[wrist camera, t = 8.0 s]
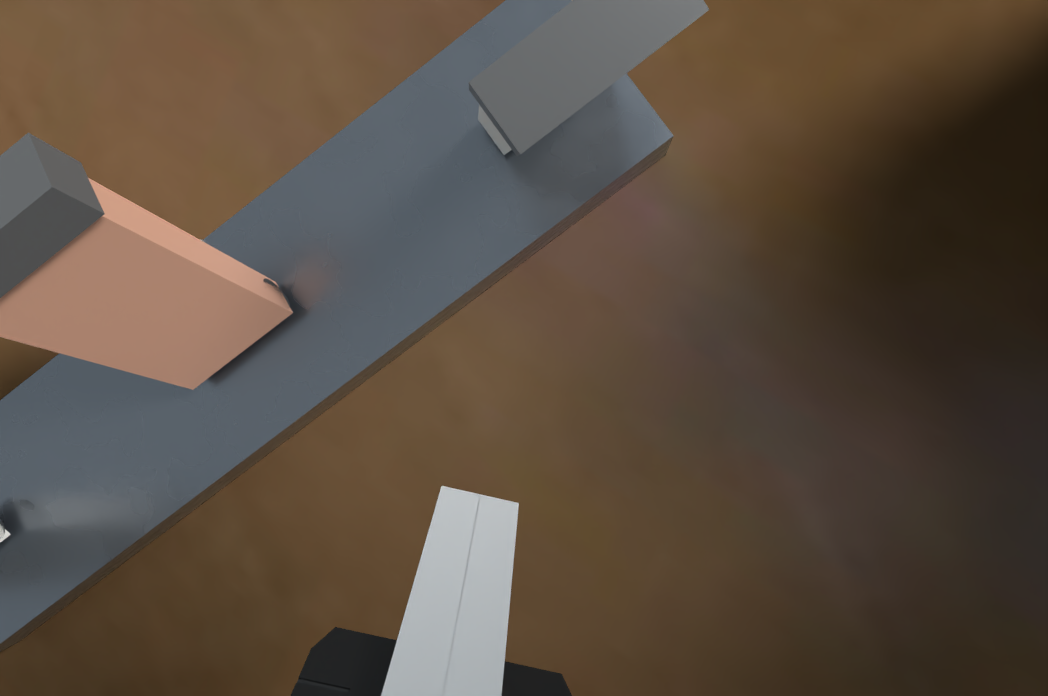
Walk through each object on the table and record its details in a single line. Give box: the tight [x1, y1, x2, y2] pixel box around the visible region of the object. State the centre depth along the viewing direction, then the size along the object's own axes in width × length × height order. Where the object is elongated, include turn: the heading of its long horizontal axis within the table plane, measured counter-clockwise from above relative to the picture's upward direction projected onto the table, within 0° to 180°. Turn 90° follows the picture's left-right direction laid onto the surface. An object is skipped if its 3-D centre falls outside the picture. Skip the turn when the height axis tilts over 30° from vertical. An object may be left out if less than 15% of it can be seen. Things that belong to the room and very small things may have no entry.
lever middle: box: [0, 133, 293, 390], centre depth 24 cm, size 2×5×11 cm, turn 126°
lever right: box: [469, 0, 709, 156], centre depth 22 cm, size 2×5×11 cm, turn 126°
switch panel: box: [0, 0, 673, 651], centre depth 31 cm, size 8×36×3 cm, turn 126°
